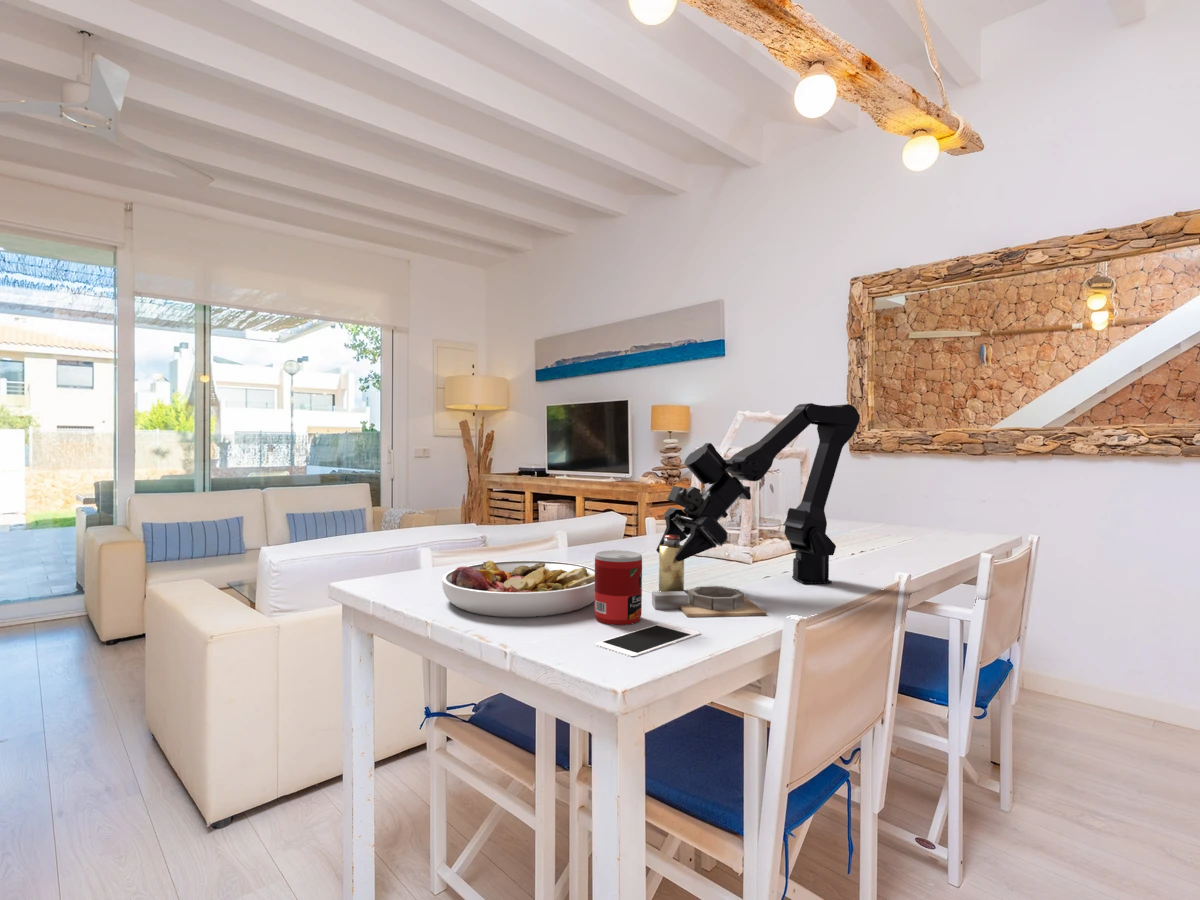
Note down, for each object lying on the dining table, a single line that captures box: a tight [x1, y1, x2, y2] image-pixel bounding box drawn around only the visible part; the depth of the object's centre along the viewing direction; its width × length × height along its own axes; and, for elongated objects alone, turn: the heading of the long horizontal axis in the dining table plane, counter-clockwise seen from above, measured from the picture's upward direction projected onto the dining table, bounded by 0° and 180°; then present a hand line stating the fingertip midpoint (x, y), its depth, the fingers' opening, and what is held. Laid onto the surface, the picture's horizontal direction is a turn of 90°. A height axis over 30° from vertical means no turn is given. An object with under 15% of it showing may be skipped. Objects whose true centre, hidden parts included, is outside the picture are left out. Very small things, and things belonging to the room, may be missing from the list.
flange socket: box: [651, 585, 767, 618], centre depth 118 cm, size 18×14×2 cm
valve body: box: [658, 534, 685, 592], centre depth 130 cm, size 5×5×11 cm
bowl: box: [441, 560, 595, 618], centre depth 122 cm, size 30×30×8 cm
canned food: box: [594, 549, 643, 626], centre depth 109 cm, size 8×8×11 cm
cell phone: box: [594, 622, 702, 657], centre depth 98 cm, size 8×16×1 cm, turn 135°
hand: (666, 555), depth 130 cm, fingers open, 9 cm apart
